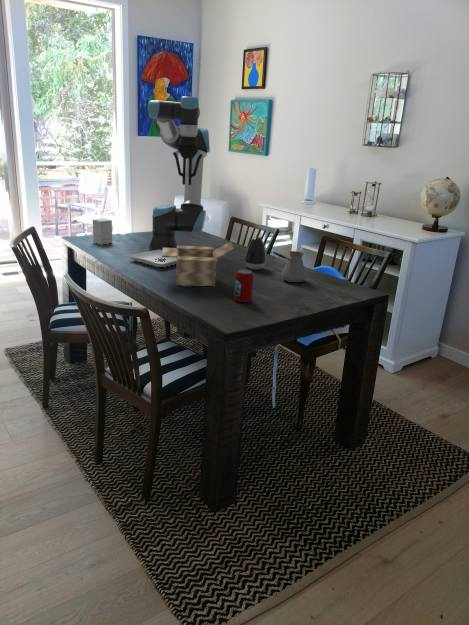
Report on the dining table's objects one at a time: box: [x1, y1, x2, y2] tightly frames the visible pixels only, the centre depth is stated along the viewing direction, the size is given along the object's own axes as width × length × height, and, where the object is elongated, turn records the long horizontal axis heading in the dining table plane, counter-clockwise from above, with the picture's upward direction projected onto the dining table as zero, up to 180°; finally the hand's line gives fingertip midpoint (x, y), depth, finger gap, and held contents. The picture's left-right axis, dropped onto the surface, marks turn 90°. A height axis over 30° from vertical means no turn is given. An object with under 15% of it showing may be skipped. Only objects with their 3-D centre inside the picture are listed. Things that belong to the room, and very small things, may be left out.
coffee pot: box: [271, 250, 308, 283], centre depth 220 cm, size 21×12×15 cm, turn 132°
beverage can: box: [233, 268, 254, 303], centre depth 192 cm, size 7×7×12 cm
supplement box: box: [92, 217, 113, 246], centre depth 266 cm, size 7×7×13 cm
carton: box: [162, 245, 219, 288], centre depth 211 cm, size 22×24×13 cm
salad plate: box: [129, 250, 177, 268], centre depth 239 cm, size 21×21×3 cm
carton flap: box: [214, 241, 235, 260], centre depth 210 cm, size 8×13×1 cm
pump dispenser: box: [244, 236, 267, 271], centre depth 238 cm, size 10×10×15 cm
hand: (186, 192), depth 222 cm, fingers closed
